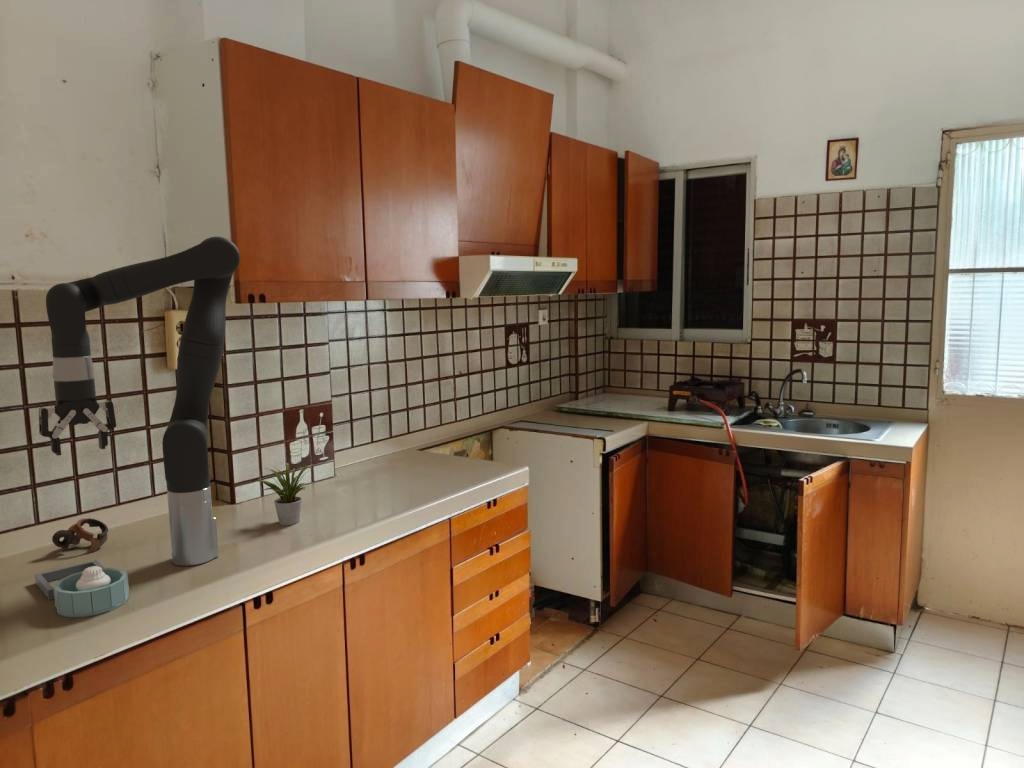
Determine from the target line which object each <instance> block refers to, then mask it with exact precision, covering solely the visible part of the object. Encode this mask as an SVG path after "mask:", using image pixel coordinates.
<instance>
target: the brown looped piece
mask: <svg viewBox="0 0 1024 768" xmlns="http://www.w3.org/2000/svg"><path fill="white" fill-rule="evenodd" d="M85 524H88V527H89V528H98V527H99V529H100V531H101V532H100V533H97V534H96V535H97V536H96V537H94V536H95V535H94V533H93V532H90V531H88V530H86V529H84V528H83V526H85ZM108 533H109V528H108V525H107V524H105V523H104V522H103V521H101V520H99V519H95V518H91V517H90V518H89V517H88V518H87V517H85V518H80V519H78V520H77V522H76V523H74V524H72V525H71V526H70V527H69V528H68V529H67V530H66V529H59V530H58V531H56V532H54V534H53V536H52V537H51V539H52V540H51V541H52V543H53V544H54V546H56V547H57V548H61V549H62V552H65V551H66V552H68V551H69V546H71V545H79V544H80V543H81V539H83V540H85V541H87V542H90V544H91V545H90V546H89V549H88V550H89V552H92V553H95V552H97V550H98V549H99V548H100V547H102V546H103V545H105V543H106V542H107V541H108ZM62 538H63V539H62ZM60 539H62V540H60Z"/></svg>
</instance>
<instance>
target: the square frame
mask: <svg viewBox="0 0 1024 768" xmlns="http://www.w3.org/2000/svg"><path fill="white" fill-rule="evenodd" d="M91 566H98V567H101V568H105V566H104V565H102V564H101V563H100V562H99V561H98V560H97V559H95V560H89V561H85V562H82V563H78V564H73V565H69V566H68V565H67V566H64V567H60V568H57V569H56V568H55V569H53V570H52V569H51V570H48V571H43V572H38V573H35V574H34V580H35V581H34V582H35V584H36V586H37V587H38V588H39V589H40V590H41V592H42V593H43V594H44V596H45V597H46V598H47V600H48V601H50V600H53V599H54V600H55V598H54V588H53V587H52V585H51V584H50V583H49V582H52V581H57V580H61V579H63V578H65V577H67V576H70V575H72V574H74V573H79V572H83V571H84V570H85V569H86V568H88V567H91Z"/></svg>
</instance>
